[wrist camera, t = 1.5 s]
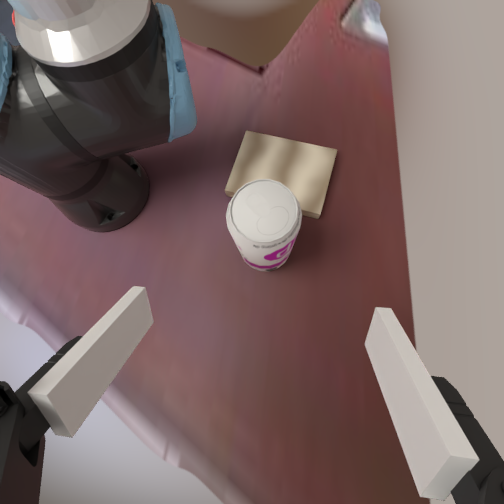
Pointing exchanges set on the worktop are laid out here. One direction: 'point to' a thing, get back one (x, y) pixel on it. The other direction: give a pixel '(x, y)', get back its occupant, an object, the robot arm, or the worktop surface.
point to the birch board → (285, 168)
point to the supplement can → (264, 223)
